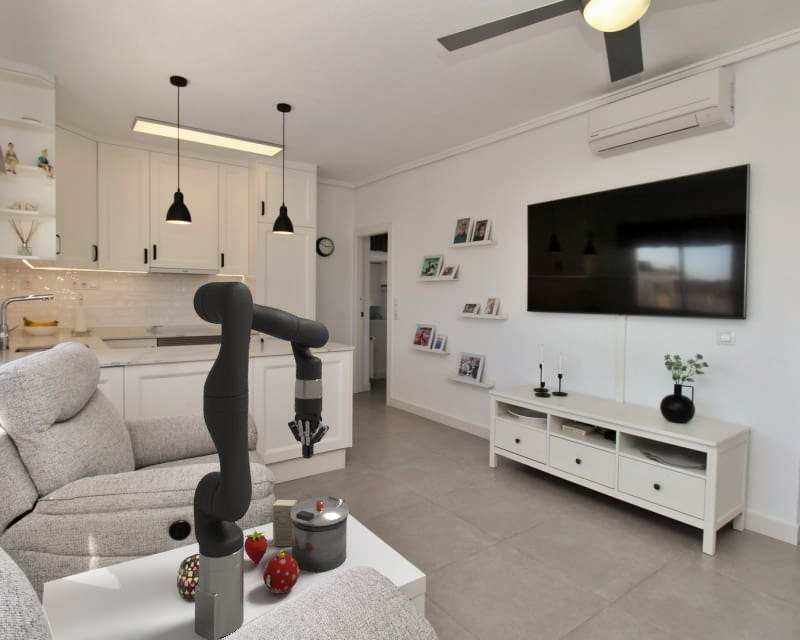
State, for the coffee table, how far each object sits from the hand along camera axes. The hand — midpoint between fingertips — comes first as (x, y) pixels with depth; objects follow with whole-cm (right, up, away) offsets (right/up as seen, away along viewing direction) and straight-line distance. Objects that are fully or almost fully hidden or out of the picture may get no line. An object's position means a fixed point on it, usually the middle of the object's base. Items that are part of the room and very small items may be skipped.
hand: (307, 457), depth 131 cm
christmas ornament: (-4, -29, -13) cm, 32 cm away
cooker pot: (+3, -29, +2) cm, 29 cm away
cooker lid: (+3, -16, +2) cm, 17 cm away
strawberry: (-14, -29, -2) cm, 32 cm away
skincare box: (-9, -29, +11) cm, 32 cm away
